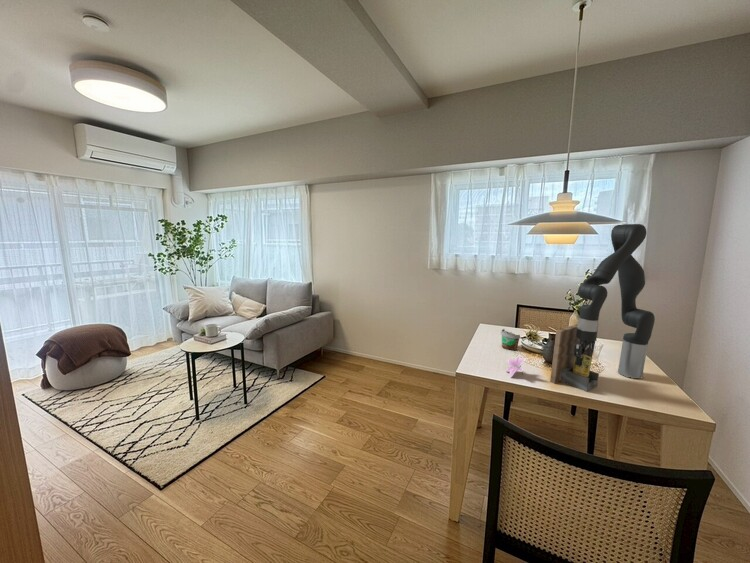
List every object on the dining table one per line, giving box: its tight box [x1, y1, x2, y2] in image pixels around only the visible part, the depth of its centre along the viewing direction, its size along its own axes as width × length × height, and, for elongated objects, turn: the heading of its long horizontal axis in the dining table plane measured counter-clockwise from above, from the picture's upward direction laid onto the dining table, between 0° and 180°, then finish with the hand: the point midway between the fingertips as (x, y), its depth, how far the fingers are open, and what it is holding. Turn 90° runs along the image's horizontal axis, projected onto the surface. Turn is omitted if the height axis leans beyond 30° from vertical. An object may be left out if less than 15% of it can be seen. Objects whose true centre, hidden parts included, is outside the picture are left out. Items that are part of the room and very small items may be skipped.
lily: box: [505, 354, 527, 379], centre depth 146 cm, size 12×12×10 cm
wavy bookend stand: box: [549, 323, 600, 392], centre depth 137 cm, size 20×13×25 cm, turn 121°
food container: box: [500, 328, 521, 352], centre depth 178 cm, size 12×6×10 cm, turn 25°
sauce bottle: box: [573, 340, 594, 378], centre depth 136 cm, size 7×6×20 cm
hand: (582, 363), depth 136 cm, fingers closed on sauce bottle, 6 cm apart
